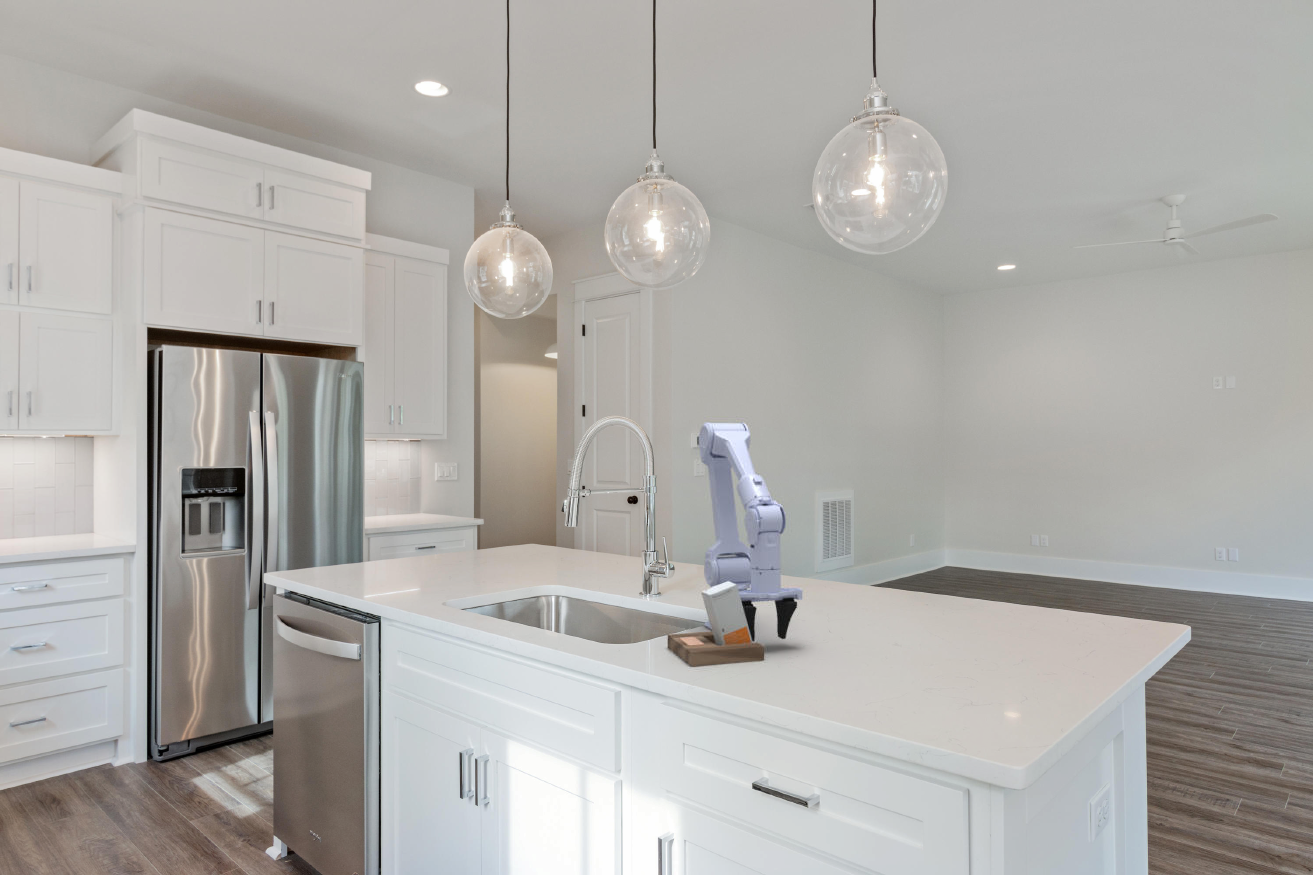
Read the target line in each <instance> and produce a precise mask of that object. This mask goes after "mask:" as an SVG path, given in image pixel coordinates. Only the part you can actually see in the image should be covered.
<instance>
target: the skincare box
mask: <svg viewBox="0 0 1313 875" xmlns="http://www.w3.org/2000/svg"><path fill="white" fill-rule="evenodd" d="M700 593H701V596H702V599H703V604H704V607H705V611H706V614H707V618H709V621H710V625H711V628H712V630H711V631H712V632H713V635H714V639H715V643H716V645H717V646H720V645H732V644H744V643H754V641H752V638H751V634H750V631H749V627H748V623H747V620H746V616H745V613H744V609H743V605H742V602H741V598H740V595H739V591H738V587H737V585H736V584H734V583H732V582H729V581H727V582H724V583H722V584H719V585H716V586H713V587H710V588H708V589H705V590H702V591H701V592H700Z"/></svg>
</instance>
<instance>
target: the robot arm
mask: <svg viewBox="0 0 1313 875" xmlns="http://www.w3.org/2000/svg"><path fill="white" fill-rule="evenodd" d="M750 444H751V431H750V428H749V427H748V425H747V424H746V423H745V422H740V423H738V422H737V423H736V422H735V423H733V422H732V423H731V422H724V423H722V422H718V423H717V422H716V423H715V422H711V423H710V422H709V421H708V422H704V423H703V424H702V426H701V427H700V430H699V435H698V445H699V455H700V459H701V463H702V464H703V465H706V467H707V470H708V480H709V489H710V495H711V496H710V498H711V507H712V516H713V517H712V518H713V525H714V534H715V542H714V543H713V544H711V546H710V547H709V548H708V549H706V551H705V553H704V567H703V568H704V569H703V574H704V578H705V582H706V584H707V585H708V586H709V587H710V588H711V587H713V586H716V585H719V584H722V583H724V582H727V581H729V582H732V583H734V584H736V585H737V587H738V591H739V595H740V598H741V602H742V605H743V609H744V613H745V616H746V620H747V623H748V627H749V631H750V634H751V638H752V641H753V642H755V637H756V636H755V634H756V633H755V632H756V631H755V622H756V621H755V620H756V613H757V607H756V606H755V605H754V604H753V603H757V602H758V603H759V602H773V601H774V604H775V609H776V610H775V611H776V618H777V621H776V626H777V628H776V629H777V630H776V631H777V632H776V633H777V637H778V638H779V639H782V640H786V638H787V633H788V628H789V626H790V623H791V621H792V617H793V615H794V613H795V612H796V610H797V608H798V602H797V601H798V600H800V601H801V600H803V589H802V588H799V587H792V588H791V587H788V588H787V587H784V588H782V587H781V586H782V585H781V584H782V581H781V580H782V576H781V572H782V570H781V568H782V567H781V564H782V563H781V534H783V533H784V532H785V530H786V526H787V517H786V513H785V509H784V507H783V505H782V504H780V503H778V502H777V500H773V498H772V495H771V494H770V491H769V488H768V487H767V484H766V481H765V479H764V477H762V476H761V475H759V474H756V471H755V467H754V464H753V461H752V458H751V455H750V451H749V448H750ZM732 470H733V472H734V473H735V476H736V477H737V480H738V482H737V485H736V491H737V493H738V496H739V498H740V501H741V503H742V506H743V509H744V512H745V516H744V526H745V530H746V535H747V537H746V540H747V543H748V544H749V545H750V546H747V545H746V544H745V543H744V542H742V540H740V537H739V527H738V518H737V510H736V503H735V502H736V501H735V495H734V493H735V492H734V484H733V476H732ZM795 600H797V601H795ZM707 618H708V617H707ZM707 620H708V621H707V622H704V623H703V625H704V626H705V627H706V628H707V629H710V630H711V631H712V628H711V625H710V621H709V618H708V619H707Z"/></svg>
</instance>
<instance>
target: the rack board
mask: <svg viewBox="0 0 1313 875" xmlns="http://www.w3.org/2000/svg"><path fill="white" fill-rule="evenodd" d="M667 649H669V650H670V651H671V652H673V654H675V655H676V656H678V657H679V658H680V659H681V660H682V661H684V662H685V663H686V664H687V665H688V666H690V667H692V668H693V667H703V666H713V665H725V664H726V665H727V664H736V663H747V662H759V661H765V646H764V645H763V644H761V643H759V642H753V643H744V644H732V645H720V646H717V645H716V643H715V639H714V635H713V632H712V630H711V631H700V632H699V631H697V632H686V633H685V632H683V633H673V634H672V633H671V634H667Z"/></svg>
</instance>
